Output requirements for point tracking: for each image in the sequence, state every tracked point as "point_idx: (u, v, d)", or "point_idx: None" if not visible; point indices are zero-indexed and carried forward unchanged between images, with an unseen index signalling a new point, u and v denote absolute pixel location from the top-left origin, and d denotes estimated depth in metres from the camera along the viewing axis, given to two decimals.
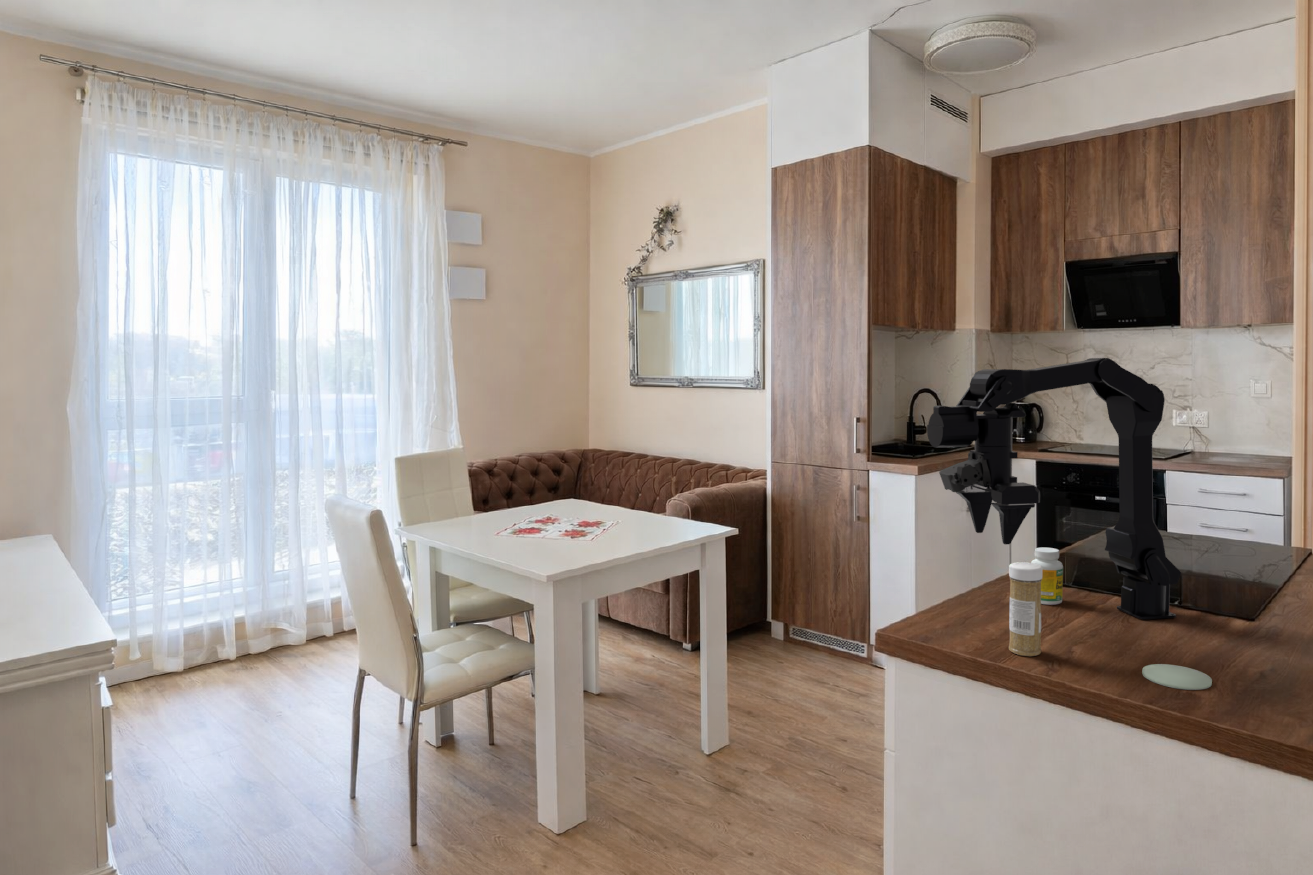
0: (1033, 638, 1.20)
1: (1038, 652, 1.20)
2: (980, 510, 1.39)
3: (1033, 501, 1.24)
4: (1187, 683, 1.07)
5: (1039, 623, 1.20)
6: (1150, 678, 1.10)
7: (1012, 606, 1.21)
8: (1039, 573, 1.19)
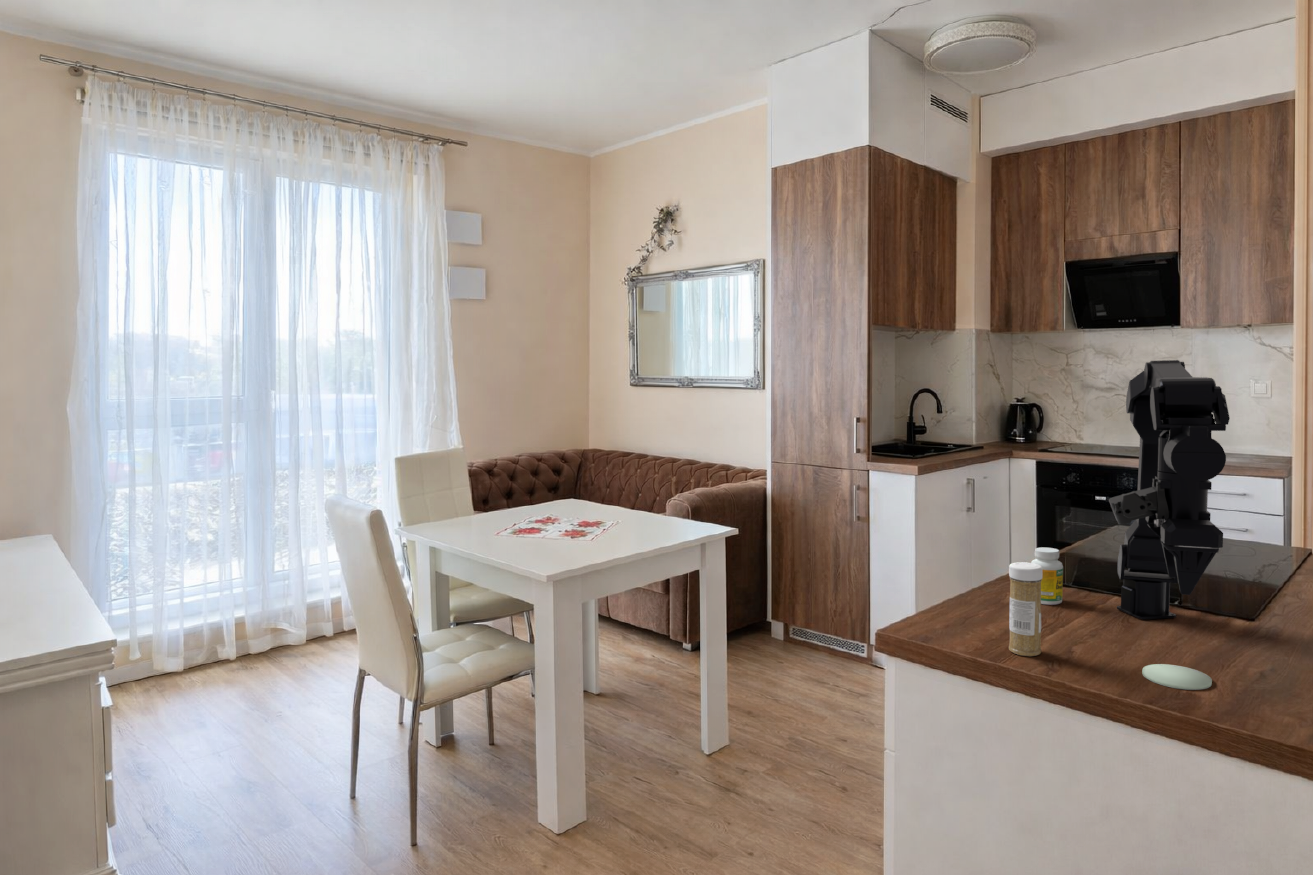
0: (1033, 638, 1.20)
1: (1038, 652, 1.20)
2: None
3: (1210, 545, 1.00)
4: (1187, 683, 1.07)
5: (1039, 623, 1.20)
6: (1150, 678, 1.10)
7: (1012, 606, 1.21)
8: (1039, 573, 1.19)
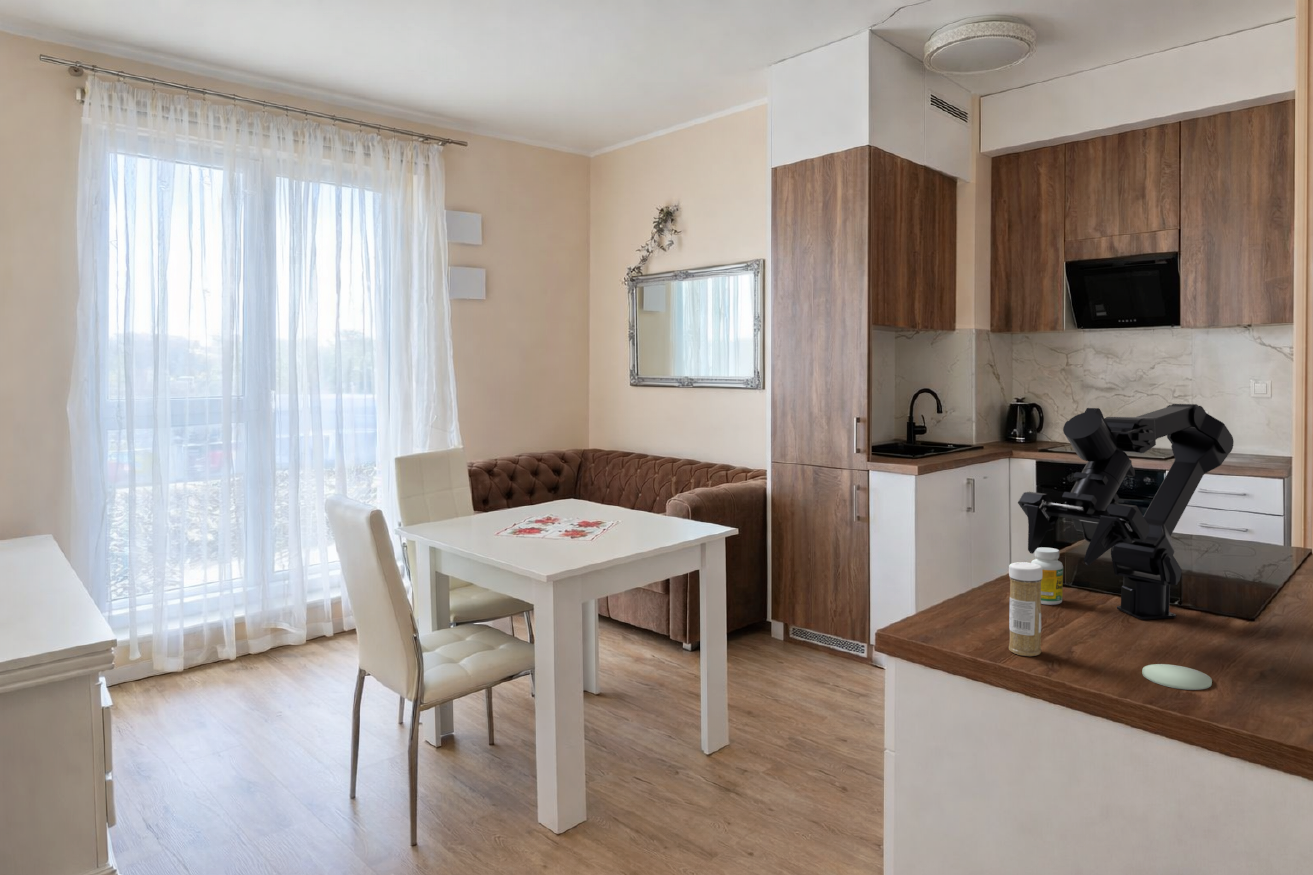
0: (1033, 638, 1.20)
1: (1038, 652, 1.20)
2: None
3: None
4: (1187, 683, 1.07)
5: (1039, 623, 1.20)
6: (1150, 678, 1.10)
7: (1012, 606, 1.21)
8: (1039, 573, 1.19)
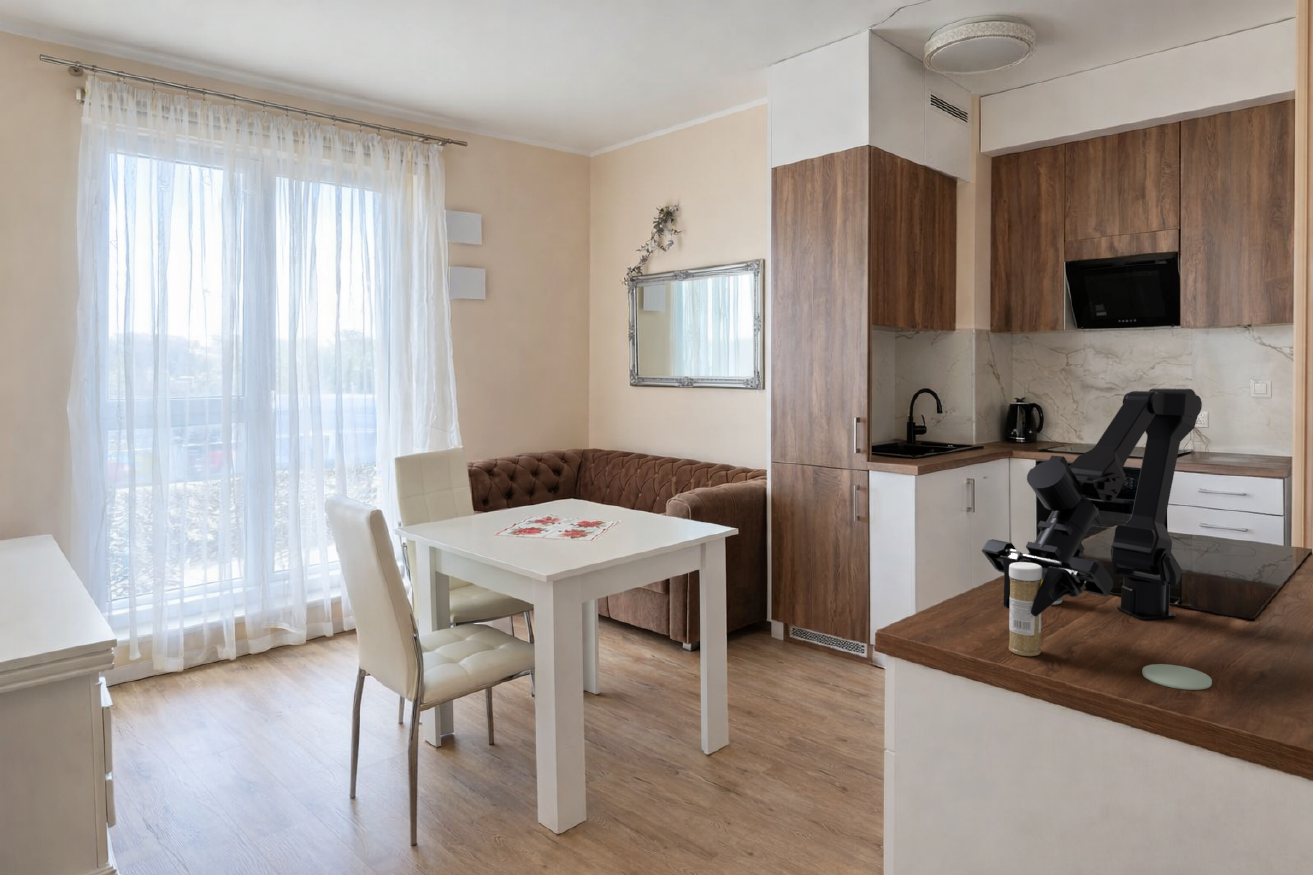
0: (1033, 638, 1.20)
1: (1038, 652, 1.20)
2: None
3: None
4: (1187, 683, 1.07)
5: (1039, 623, 1.20)
6: (1150, 678, 1.10)
7: (1012, 606, 1.21)
8: (1039, 573, 1.19)
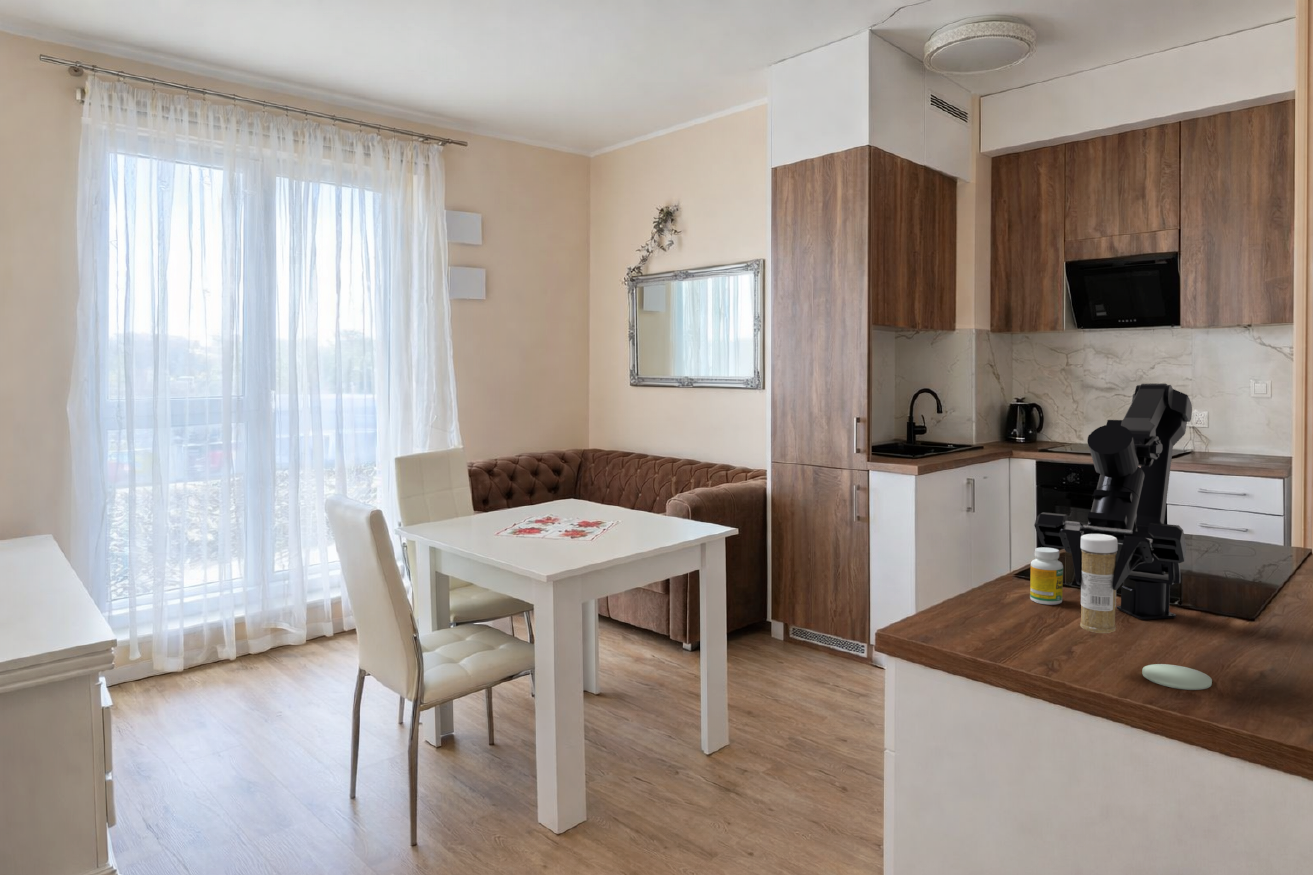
0: (1112, 614, 1.12)
1: (1115, 628, 1.13)
2: None
3: None
4: (1187, 683, 1.07)
5: (1115, 597, 1.13)
6: (1150, 678, 1.10)
7: (1088, 581, 1.13)
8: (1117, 544, 1.12)
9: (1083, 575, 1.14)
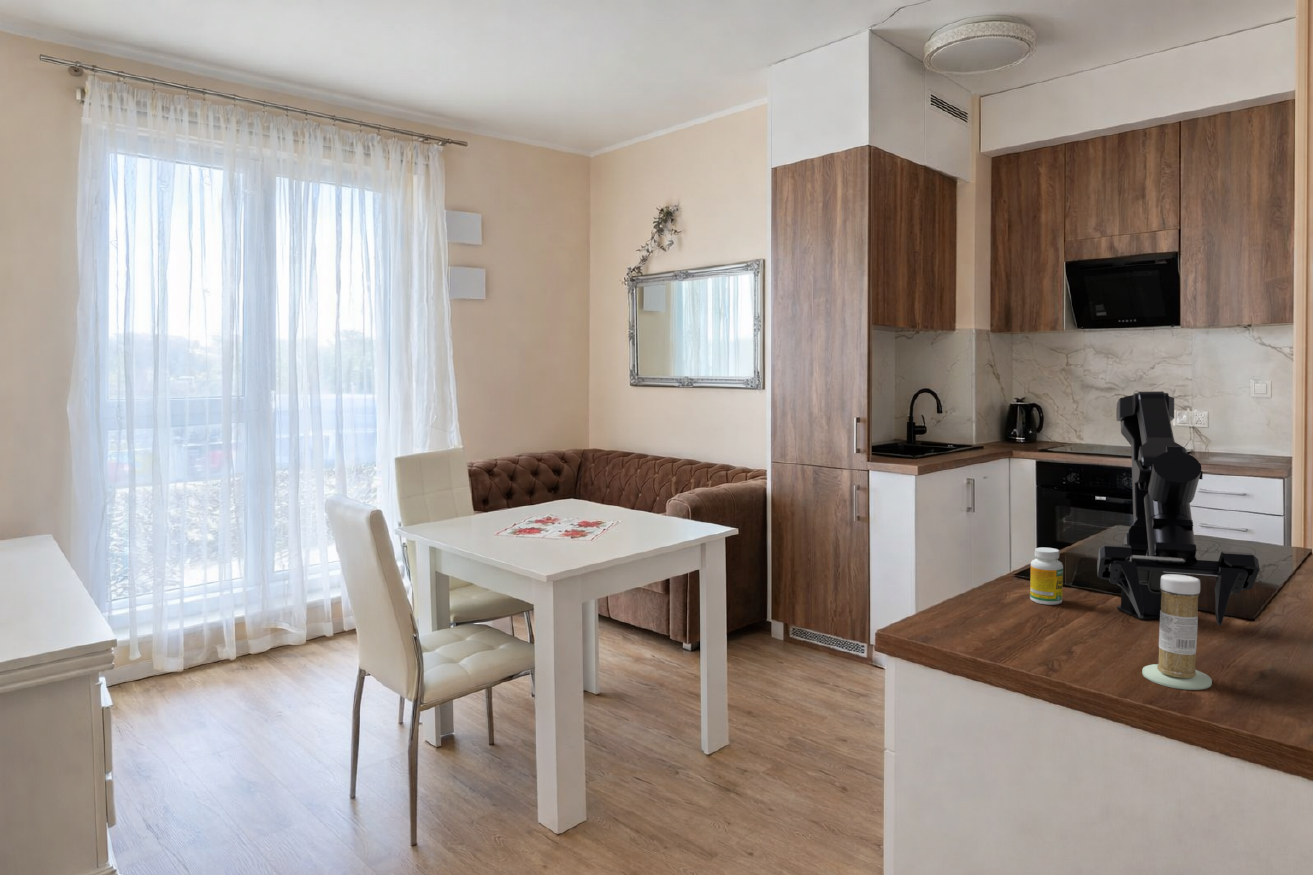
0: (1195, 657, 1.09)
1: (1195, 671, 1.10)
2: (1217, 597, 1.09)
3: (1099, 559, 1.16)
4: (1187, 683, 1.07)
5: None
6: (1150, 678, 1.10)
7: (1174, 624, 1.09)
8: None
9: (1167, 618, 1.09)
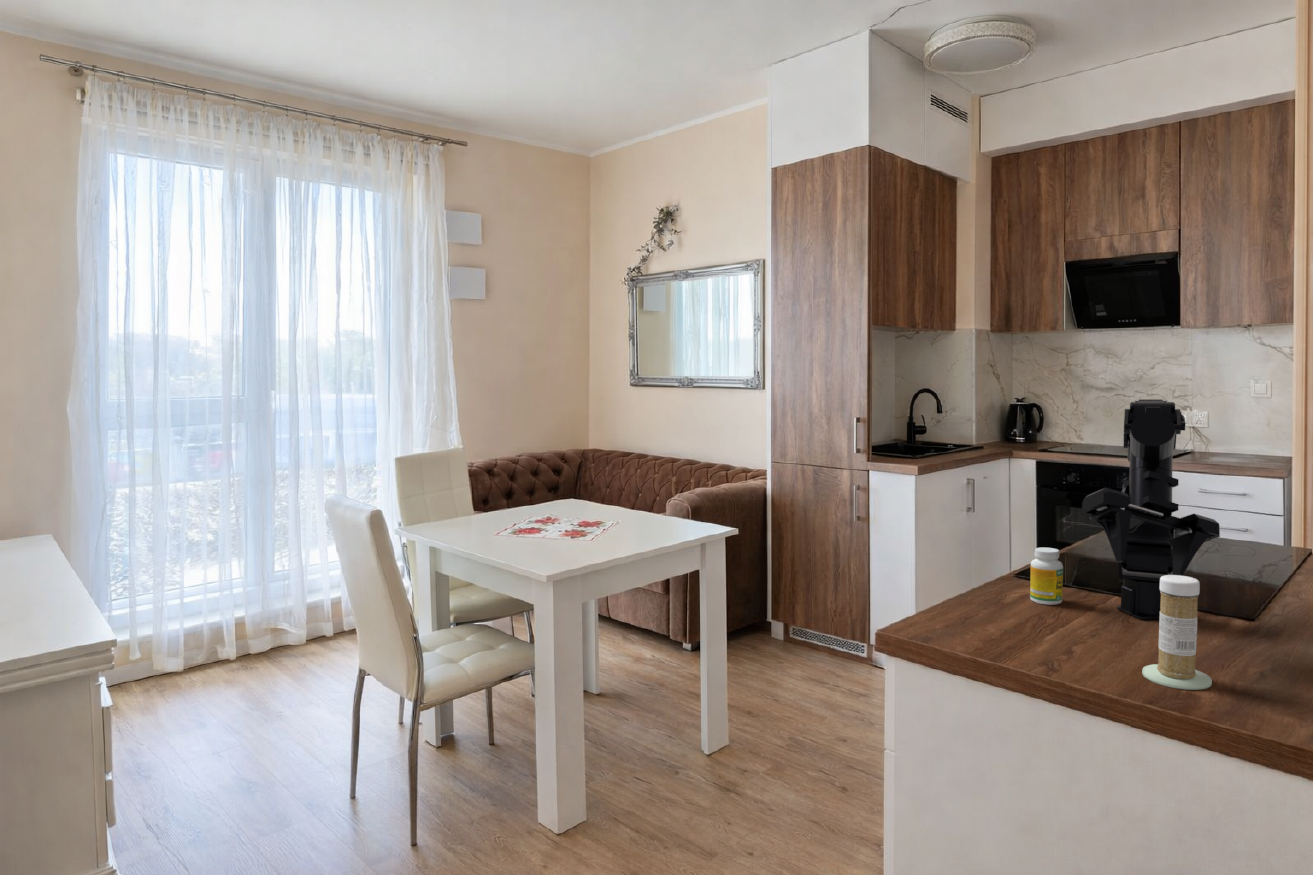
0: (1194, 658, 1.09)
1: None
2: (1179, 553, 1.21)
3: (1099, 502, 1.21)
4: (1187, 683, 1.07)
5: None
6: (1150, 678, 1.10)
7: (1174, 626, 1.09)
8: (1199, 586, 1.09)
9: (1166, 619, 1.09)
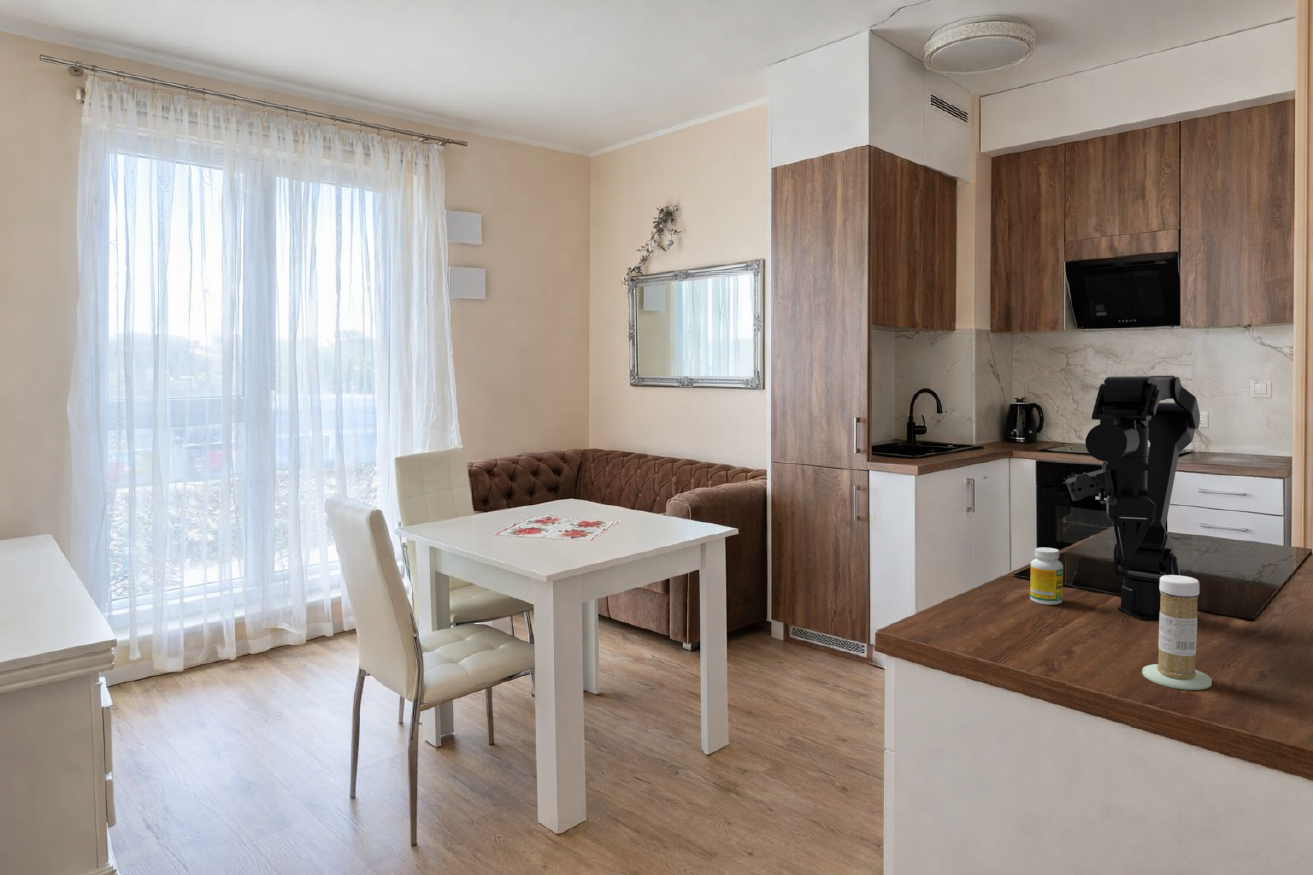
0: (1194, 658, 1.09)
1: None
2: None
3: (1145, 516, 1.19)
4: (1187, 683, 1.07)
5: None
6: (1150, 678, 1.10)
7: (1174, 626, 1.08)
8: None
9: (1166, 619, 1.09)
